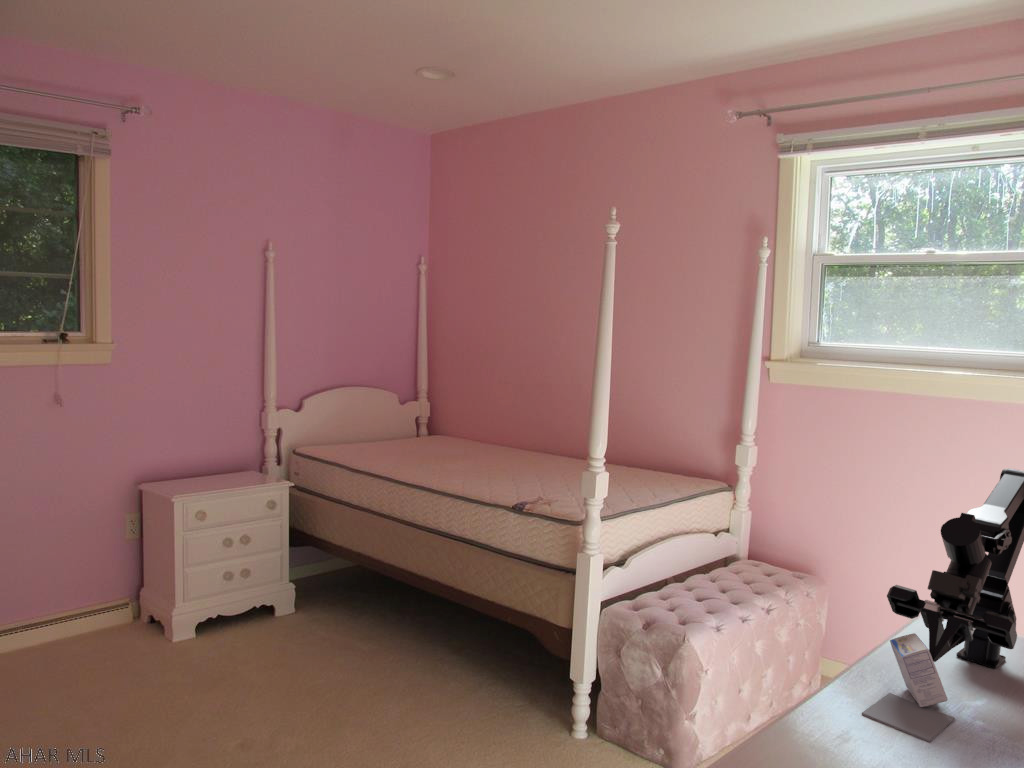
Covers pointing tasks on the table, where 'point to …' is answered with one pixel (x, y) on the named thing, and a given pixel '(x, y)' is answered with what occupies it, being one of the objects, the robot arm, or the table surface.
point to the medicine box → (918, 670)
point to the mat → (909, 716)
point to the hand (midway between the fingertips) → (932, 659)
